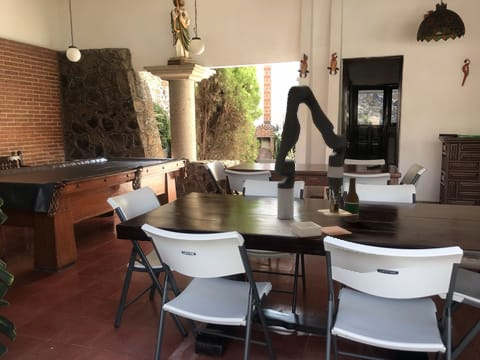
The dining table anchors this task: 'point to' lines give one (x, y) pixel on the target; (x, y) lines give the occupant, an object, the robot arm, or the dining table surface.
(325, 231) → the mat
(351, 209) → the beer bottle
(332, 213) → the lid
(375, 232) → the dining table surface
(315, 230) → the beige square tray
